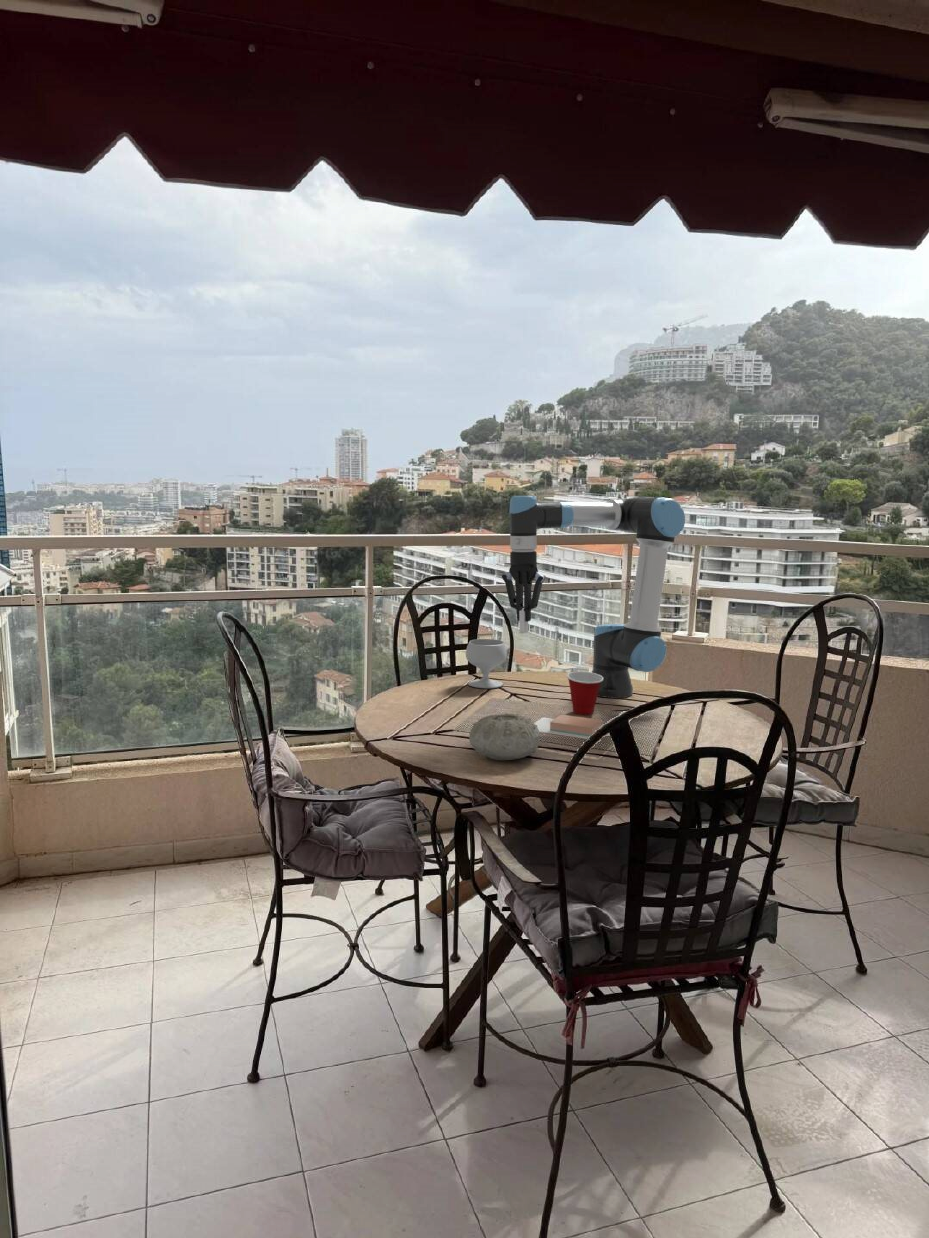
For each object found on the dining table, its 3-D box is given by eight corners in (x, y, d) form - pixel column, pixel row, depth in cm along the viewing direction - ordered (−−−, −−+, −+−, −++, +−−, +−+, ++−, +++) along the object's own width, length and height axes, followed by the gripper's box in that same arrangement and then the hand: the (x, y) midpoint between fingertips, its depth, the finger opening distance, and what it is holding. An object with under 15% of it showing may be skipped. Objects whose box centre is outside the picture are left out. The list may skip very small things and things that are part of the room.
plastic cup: (576, 720, 237) (578, 680, 235) (558, 711, 247) (560, 672, 245) (608, 717, 241) (610, 678, 239) (590, 708, 251) (591, 670, 249)
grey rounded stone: (455, 757, 203) (455, 718, 201) (492, 739, 218) (493, 703, 216) (517, 771, 193) (518, 730, 192) (552, 752, 208) (553, 714, 206)
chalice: (506, 690, 271) (507, 646, 269) (464, 689, 272) (465, 645, 269) (505, 680, 285) (506, 638, 283) (465, 679, 286) (466, 637, 283)
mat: (524, 731, 226) (525, 729, 225) (542, 719, 238) (542, 717, 238) (594, 742, 217) (594, 740, 217) (609, 728, 229) (609, 726, 229)
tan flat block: (550, 721, 224) (592, 728, 219) (561, 714, 232) (602, 720, 227) (550, 730, 225) (592, 736, 220) (560, 722, 233) (601, 728, 228)
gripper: (496, 551, 231) (497, 633, 235) (539, 552, 225) (539, 636, 229) (508, 549, 238) (509, 628, 241) (549, 550, 231) (549, 631, 235)
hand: (523, 632), depth 235 cm, fingers closed
